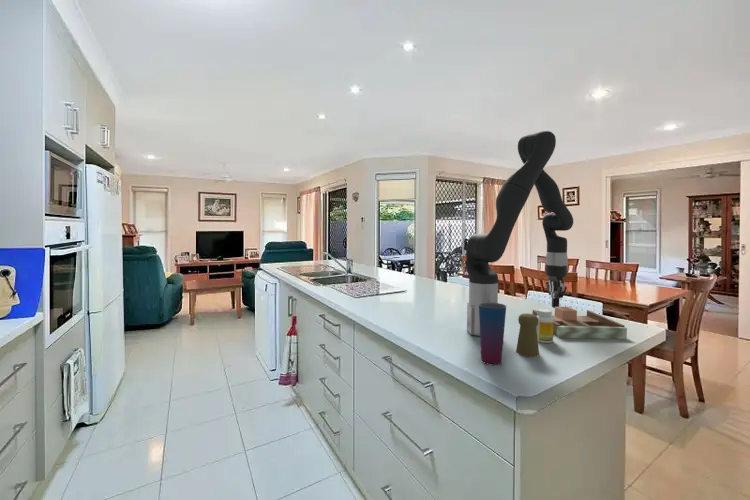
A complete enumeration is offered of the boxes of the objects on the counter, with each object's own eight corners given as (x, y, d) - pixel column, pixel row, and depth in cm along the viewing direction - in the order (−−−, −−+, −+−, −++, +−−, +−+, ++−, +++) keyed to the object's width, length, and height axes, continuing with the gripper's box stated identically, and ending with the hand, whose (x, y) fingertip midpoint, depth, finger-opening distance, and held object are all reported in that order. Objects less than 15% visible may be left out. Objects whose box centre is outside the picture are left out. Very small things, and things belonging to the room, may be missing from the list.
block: (562, 320, 124) (562, 310, 124) (554, 315, 130) (554, 306, 130) (576, 320, 124) (577, 310, 124) (568, 316, 130) (568, 306, 130)
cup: (473, 356, 94) (474, 302, 93) (498, 356, 95) (499, 302, 94) (483, 366, 87) (484, 308, 86) (509, 365, 88) (511, 307, 87)
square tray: (558, 337, 110) (558, 325, 110) (532, 320, 131) (532, 310, 131) (626, 338, 109) (627, 326, 109) (589, 321, 130) (589, 310, 130)
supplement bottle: (530, 339, 109) (530, 309, 108) (541, 337, 111) (542, 307, 111) (545, 344, 104) (546, 313, 103) (556, 341, 106) (557, 311, 106)
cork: (541, 357, 94) (543, 317, 93) (518, 355, 95) (519, 316, 94) (536, 349, 100) (537, 312, 99) (514, 348, 101) (514, 311, 100)
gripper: (539, 262, 141) (538, 303, 142) (554, 265, 128) (553, 311, 129) (558, 262, 141) (557, 303, 142) (575, 265, 127) (573, 311, 129)
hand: (555, 307), depth 135 cm, fingers closed
